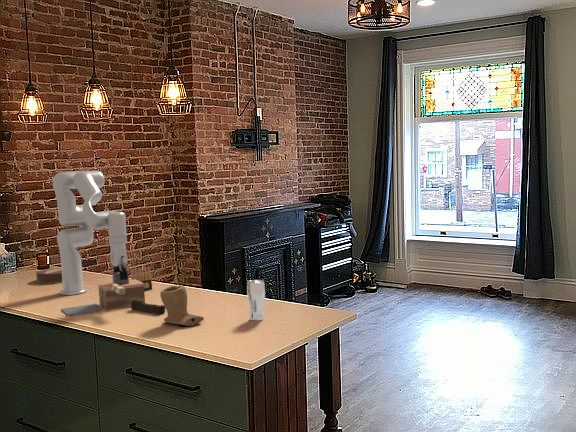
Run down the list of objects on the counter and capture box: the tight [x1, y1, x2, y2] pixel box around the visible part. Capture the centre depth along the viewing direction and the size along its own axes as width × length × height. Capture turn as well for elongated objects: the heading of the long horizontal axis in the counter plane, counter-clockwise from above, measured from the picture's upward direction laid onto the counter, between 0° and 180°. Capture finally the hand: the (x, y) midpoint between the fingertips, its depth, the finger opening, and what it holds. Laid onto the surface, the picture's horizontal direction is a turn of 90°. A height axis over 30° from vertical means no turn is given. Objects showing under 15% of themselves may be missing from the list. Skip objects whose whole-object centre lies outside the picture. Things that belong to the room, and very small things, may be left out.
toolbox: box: [98, 286, 146, 311], centre depth 283 cm, size 12×17×8 cm
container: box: [35, 267, 63, 285], centre depth 346 cm, size 20×20×6 cm
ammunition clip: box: [130, 265, 153, 292], centre depth 309 cm, size 11×2×12 cm, turn 130°
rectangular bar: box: [110, 282, 125, 295], centre depth 264 cm, size 14×2×2 cm, turn 32°
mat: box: [60, 303, 105, 317], centre depth 274 cm, size 14×15×1 cm
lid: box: [97, 271, 144, 291], centre depth 282 cm, size 12×17×7 cm
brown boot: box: [160, 284, 205, 327], centre depth 245 cm, size 15×12×15 cm
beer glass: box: [246, 279, 266, 322], centre depth 248 cm, size 7×7×15 cm
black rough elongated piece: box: [130, 300, 166, 316], centre depth 267 cm, size 19×4×5 cm, turn 53°
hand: (120, 278), depth 282 cm, fingers open, 9 cm apart
